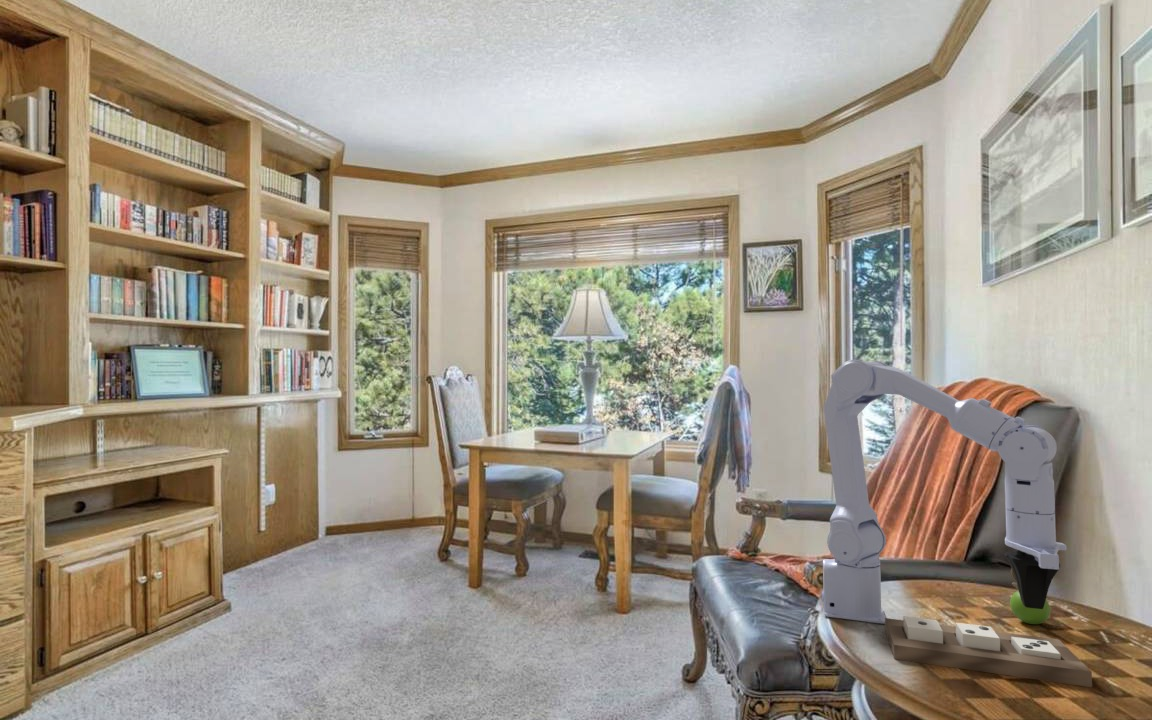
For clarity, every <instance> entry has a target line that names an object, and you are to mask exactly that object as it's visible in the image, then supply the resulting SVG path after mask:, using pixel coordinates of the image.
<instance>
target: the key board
mask: <svg viewBox="0 0 1152 720" xmlns="http://www.w3.org/2000/svg"><path fill="white" fill-rule="evenodd" d="M939 625H940V627H941V629H942V631H943V644H941V643H933V642H926V641H918V640H911V639H906V637H905V634H904V619H897V618H896V619H895V618H887V617H885V624H884V627H885V629H884V630H885V633H886V637H887V640H888V643H889V646H890V649H891V652H892V655H893V658H894V660H899V661H906V662H913V661H914V662H915V663H921V664H928V665H936V666H942V667H947V668H948V667H949V668H956V669H963V670H969V671H970V670H971V671H975V672H976V671H977V672H983V673H991V674H997V675H1005V676H1011V677H1017V678H1024V679H1025V678H1027V679H1030V680H1031V679H1032V680H1040V681H1047V682H1053V683H1058V684H1066V685H1073V686H1080V687H1081V686H1082V687H1087V688H1093V677H1092V675H1093V674H1092V673H1093V672H1092V670H1091V669H1089V667H1088V666H1086V664H1084V663H1083V661H1082V660H1081V659H1079V658H1078V657H1077V656H1076V654H1074V653H1073V652H1072V651H1071V650H1070V649H1069V648H1068V647H1067V646H1066V645H1065V644H1064V643H1063V642H1062V641H1061V639H1058V638H1051V637H1050V638H1049V637H1041V636H1035V635H1024V634H1019V633H1018V634H1017V633H1009V632H1001V631H995V630H994V632H995V633H996V634H997V635H998V637H999V638H1000V651H994V650H986V649H979V648H971V647H963V646H961V645H960V643H959V642H958V640H957V638H956V626H952V625H944V624H939ZM1011 637H1019V638H1027V639H1035V640H1043V641H1049V642H1050V643H1051V644H1052V646H1053V647H1054V648H1055V649H1056V650H1057V651H1058V652H1059V653H1060V654H1061V659H1054V658H1046V657H1039V656H1031V655H1024V654H1019V653H1018V651H1017V650H1016V649H1015V648H1014V646H1013V645H1012V644H1011Z"/></svg>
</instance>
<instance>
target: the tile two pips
mask: <svg viewBox="0 0 1152 720" xmlns="http://www.w3.org/2000/svg"><path fill="white" fill-rule="evenodd" d="M955 627H956V638H957V640H958V642H959V643H960V645H961V646H963V647H971V648H979V649H986V650H994V651H1000V638H999V637H998V635H997V634H996V633H995V632H996V631H995V630H994V629H993V627H992V626H987V625H979V624H972V623H963V622H955ZM994 631H995V632H994Z"/></svg>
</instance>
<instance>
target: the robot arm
mask: <svg viewBox="0 0 1152 720" xmlns="http://www.w3.org/2000/svg"><path fill="white" fill-rule="evenodd" d="M830 377H831V379H830V380H831V386H830V388H829V391H828V393H827V396H826V398H825V402H824V405H823V412H824V421H825V429H826V438H827V444H828V451H829V453H828V454H829V460H830V467H831V468H830V469H831V476H832V482H833V489H834V490H833V491H834V498H835V508H834V510H833V512H832V514H831V515H830V518H829V524H830V525H829V526H830V527H829V528H830V529H829V533H828V534H827V541H826V544H827V548H828V551H829V553H830V554H831V555H832V557H833V558H830V559H829V558H824V559H822V572H823V575H822V579H823V580H822V581H823V582H822V583H823V589H822V590H821V602H823V609H824V611H823V612H824V616H825V617H828V618H834V619H843V620H844V619H845V620H851V621H859V622H868V623H874V624H882V625H883V624H884V625H885V618H886V616H885V612H884V610H883V607H882V589H881V588H882V584H881V583H882V582H881V559H880V554H881V553H882V552H883V551H884V549H885V547H886V544H887V537H886V534H885V532H884V529H882V527H881V525H880V523H879V519H878V514H877V512H876V511H875V510H874V508H873V507H872V506H871V505H870V502H869V501H870V500H869V493H868V485H867V484H868V483H867V479H866V478H867V477H866V470H865V463H864V455H863V449H862V441H861V433H860V428H859V421H858V420H859V418H858V415H859V414H860V413H861V412H862V411H863V410H864V409H865V408H867V406H868V405H869V404H870V403H872V402H873V401H875V400H878V399H880V398H881V397H883V396H885V395H898V396H901V397H903V398H906V399H908V400H909V401H912V402H914V403H915V404H918V405H920V406H921V407H924V408H926V409H928V410H930V411H932V412H935V413H936V414H939V415H941V416H943V417H945V418H946V419H947V420H948V423H949V426H950V429H951V430H952V431H953V432H956V433H958V434H960V435H962V436H963V437H966V439H970V440H971V441H972V442H975V443H976V444H978V445H981V446H982V447H985V448H986V449H988V450H989V451H991V452H997V453H998V455H999V457H1000V458H1001V460H1002V461H1003V462H1004V471H1005V472H1004V473H1005V474H1004V500H1005V501H1004V502H1005V506H1004V507H1005V509H1004V510H1005V532H1006V533H1005V537H1004V544H1005V545H1006V546H1007V547H1010V548H1012V549H1015V550H1016V552H1013V551H1012V552H1011V551H1006V552H1004V556H1005V558H1006V560H1007V562H1008V563H1009V565H1010V569H1011V568H1012V570H1013V573H1014V576H1015V579H1016V581H1015V583H1017V586H1018V589H1017V591H1019V594H1020V597H1021V601H1022V603H1023V605H1024V606H1025V607H1027V608H1036V609H1043V607H1044V604H1045V601H1046V600H1047V597H1048V592H1049V589H1050V585H1051V584H1052V581H1053V578H1054V577H1055V576H1056V574H1057V573H1058V572H1059V570H1060V569H1061V564H1060V557H1059V554H1058V552H1059V551H1067V550H1068V549H1067V545H1066V544H1064V543H1063V542H1057V536H1056V533H1057V531H1056V502H1055V501H1056V499H1055V496H1056V495H1055V480H1054V476H1053V474H1054V469H1053V462H1051V461H1052V460H1053V459H1054V458H1055V456H1056V454H1057V450H1058V444H1057V441H1056V439H1055V438H1054V436H1053V435H1052V434H1051V433H1049V431H1047V430H1045V429H1044V428H1043V427H1042V426H1040V425H1033V424H1030V425H1029V424H1028V425H1025V424H1024V423H1025V421H1026V420H1025V418H1022V417H1021V416H1016V417H1013V416H1011V415H1009V414H1007V413H1004V412H1003V411H1001V410H998V409H997V408H994V407H992V406H991V405H992V404H993V403H992V402H991V401H989V400H987V399H985V398H980V399H979V400H977V399H976V398H972V397H971V398H967V399H962V400H959V399H957V398H956V397H953V396H952V395H950V394H948V393H946V392H944V391H942V390H940V389H939V388H936V387H935V386H933V385H931V384H929V383H928V382H925V381H923V380H922V379H920V378H918V377H917V376H914V375H912V374H910V373H909V372H907V371H904V370H902V369H900V368H899V367H895V366H889V365H888V364H887V363H884V362H882V361H866V360H865V361H863V360H859V359H849V360H847V361H845V362H843V363H842V364H841V365H840V366H839V367H838V368H836V370H835V371H834V372H832V374H831V376H830Z"/></svg>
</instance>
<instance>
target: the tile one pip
mask: <svg viewBox="0 0 1152 720" xmlns="http://www.w3.org/2000/svg"><path fill="white" fill-rule="evenodd" d="M902 618H903V619H902V620H904V634H905V637H906V639H911V640H918V641H926V642H933V643H941V644H943V631H942V629H941V627H940V625H941V624H940V623H939V621H938V620H936V619H928V618H922V617H914V616H903V617H902Z"/></svg>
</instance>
